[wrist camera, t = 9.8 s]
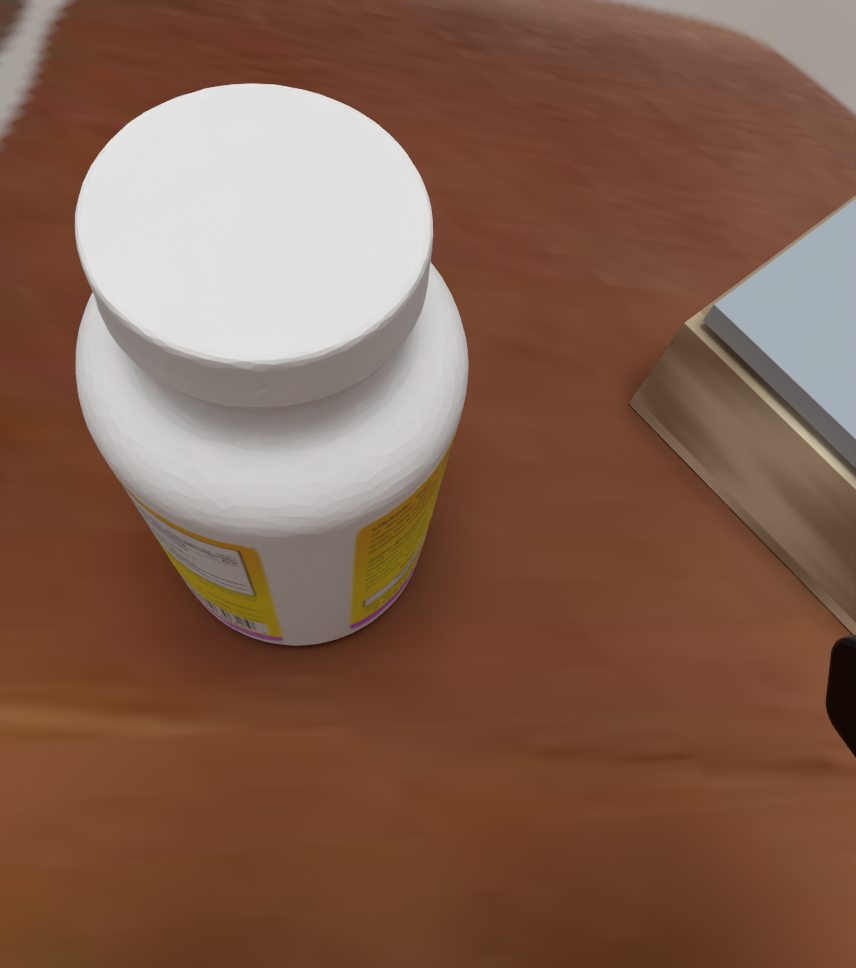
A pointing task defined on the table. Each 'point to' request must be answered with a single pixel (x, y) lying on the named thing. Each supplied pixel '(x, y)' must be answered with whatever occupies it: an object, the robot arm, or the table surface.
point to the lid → (803, 327)
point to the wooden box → (758, 456)
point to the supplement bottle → (270, 352)
